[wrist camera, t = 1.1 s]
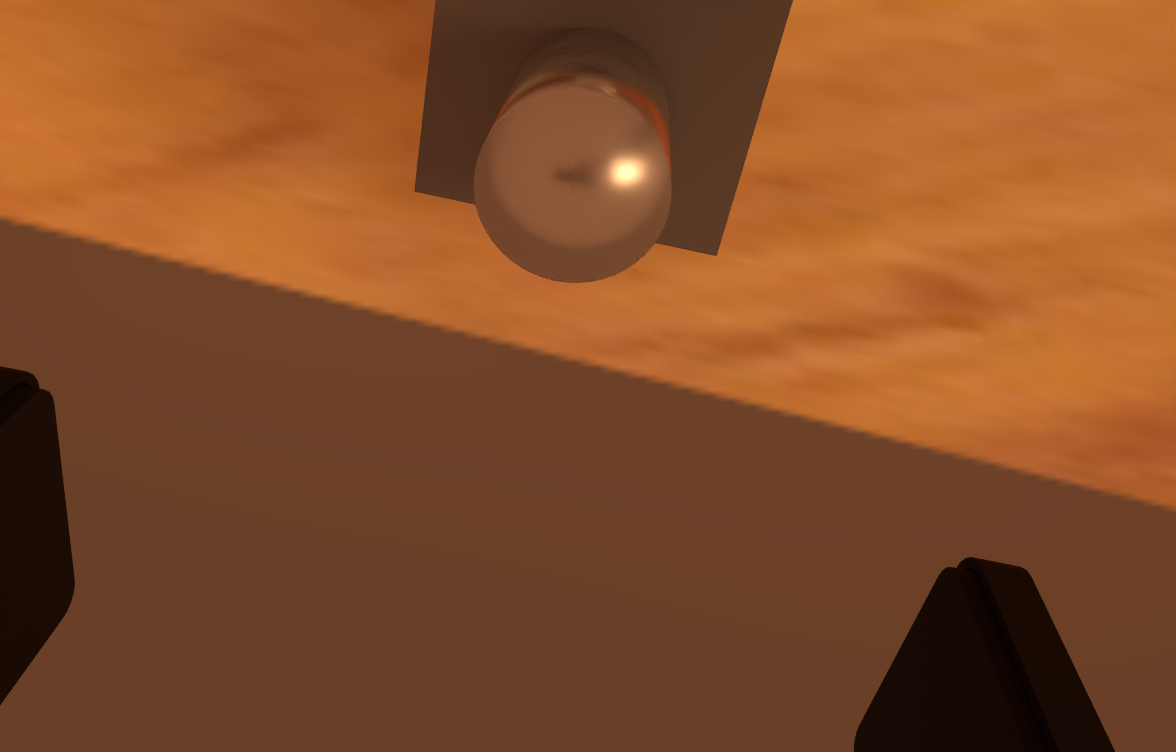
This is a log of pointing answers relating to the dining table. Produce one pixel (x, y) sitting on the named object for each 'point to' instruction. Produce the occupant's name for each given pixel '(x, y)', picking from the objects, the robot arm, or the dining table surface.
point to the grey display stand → (676, 45)
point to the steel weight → (578, 159)
